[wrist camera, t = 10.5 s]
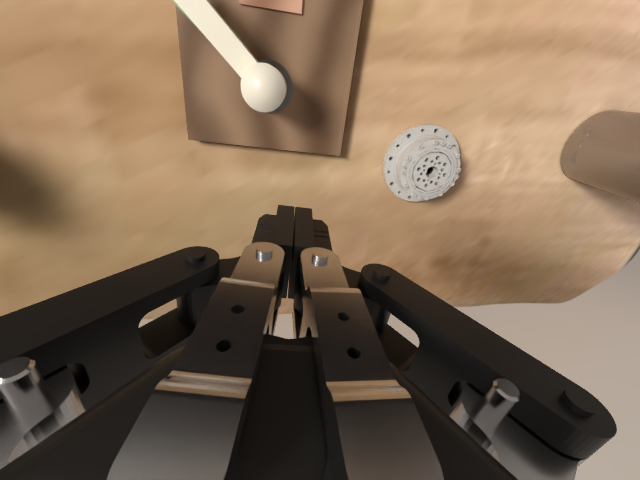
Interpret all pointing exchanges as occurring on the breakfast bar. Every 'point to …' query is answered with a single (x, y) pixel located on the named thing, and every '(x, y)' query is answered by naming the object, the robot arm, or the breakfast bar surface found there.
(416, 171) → the mechanical component
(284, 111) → the board
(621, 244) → the breakfast bar surface
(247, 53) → the peg
